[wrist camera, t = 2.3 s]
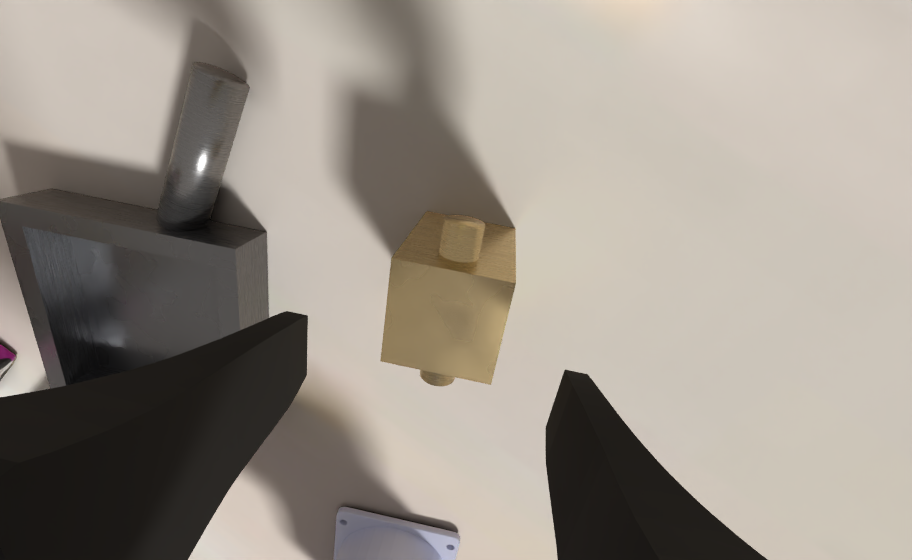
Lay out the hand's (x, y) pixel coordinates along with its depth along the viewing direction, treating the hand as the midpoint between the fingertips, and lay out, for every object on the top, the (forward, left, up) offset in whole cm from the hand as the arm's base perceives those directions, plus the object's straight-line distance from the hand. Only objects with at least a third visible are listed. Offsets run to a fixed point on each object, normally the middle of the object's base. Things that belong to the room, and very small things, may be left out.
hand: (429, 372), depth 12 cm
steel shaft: (+3, +12, -9) cm, 15 cm away
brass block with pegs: (0, 0, -9) cm, 9 cm away
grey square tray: (-6, +15, -9) cm, 18 cm away
